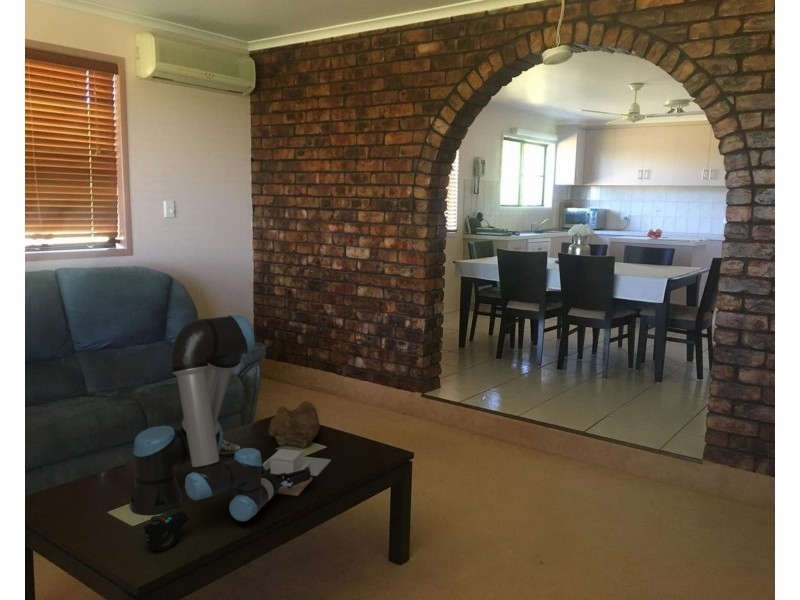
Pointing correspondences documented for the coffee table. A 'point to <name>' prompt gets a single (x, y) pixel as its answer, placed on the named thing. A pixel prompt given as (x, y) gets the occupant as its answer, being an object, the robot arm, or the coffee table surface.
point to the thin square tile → (297, 489)
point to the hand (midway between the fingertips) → (290, 463)
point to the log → (228, 449)
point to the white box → (286, 462)
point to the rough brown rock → (295, 425)
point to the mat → (316, 464)
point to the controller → (164, 530)
